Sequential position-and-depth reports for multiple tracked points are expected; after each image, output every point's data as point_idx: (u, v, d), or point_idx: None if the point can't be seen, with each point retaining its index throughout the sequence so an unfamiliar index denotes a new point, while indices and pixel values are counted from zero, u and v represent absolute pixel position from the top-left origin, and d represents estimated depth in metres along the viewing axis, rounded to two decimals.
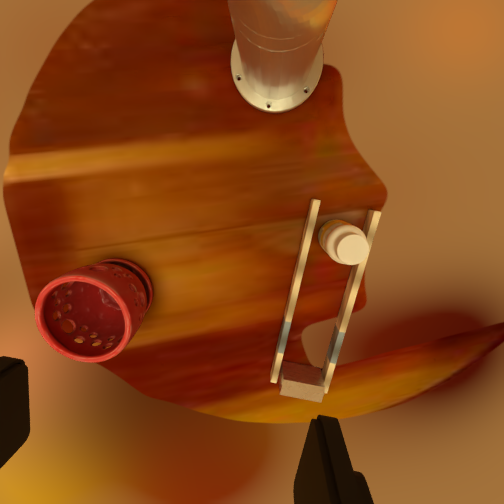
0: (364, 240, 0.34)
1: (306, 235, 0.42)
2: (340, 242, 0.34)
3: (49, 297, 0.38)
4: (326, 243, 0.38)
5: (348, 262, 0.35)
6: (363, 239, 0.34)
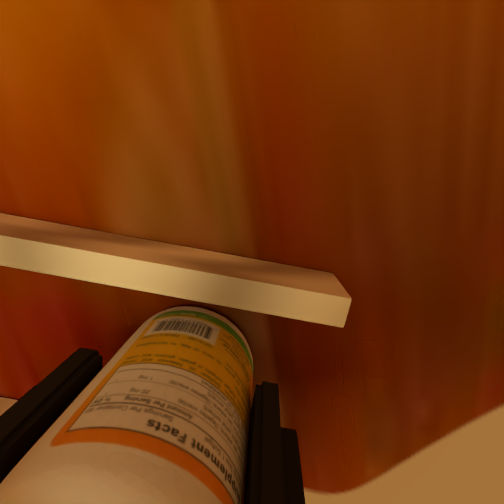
0: None
1: (177, 272, 0.09)
2: None
3: None
4: (98, 451, 0.05)
5: None
6: None
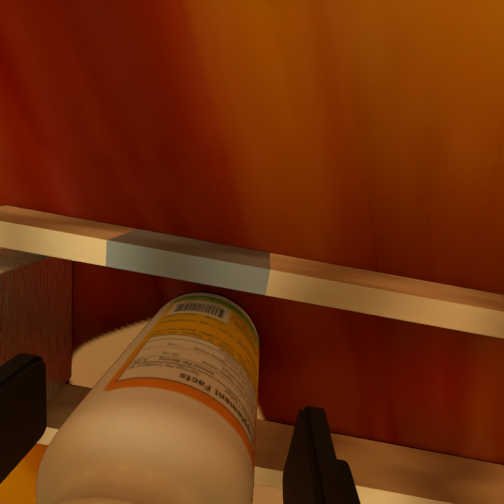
0: None
1: None
2: None
3: None
4: (145, 392, 0.07)
5: None
6: None
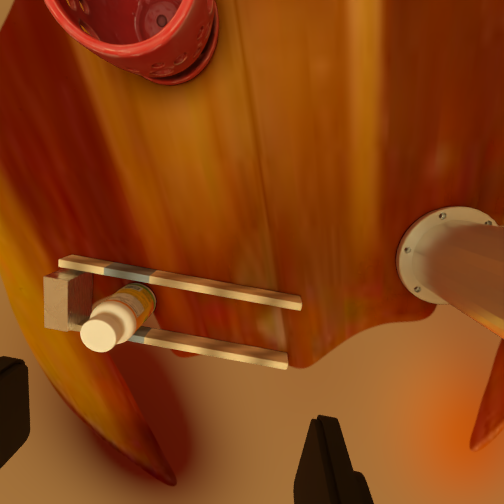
0: (110, 347, 0.30)
1: (260, 297, 0.35)
2: (104, 322, 0.29)
3: None
4: (111, 301, 0.32)
5: (82, 332, 0.30)
6: (111, 346, 0.30)
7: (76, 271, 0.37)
